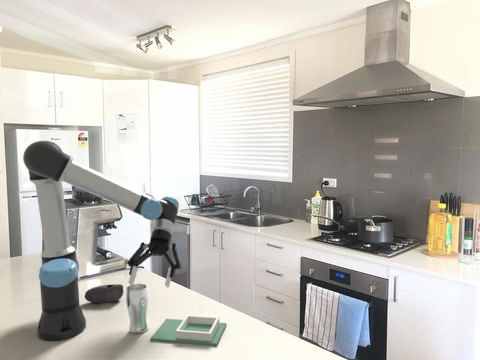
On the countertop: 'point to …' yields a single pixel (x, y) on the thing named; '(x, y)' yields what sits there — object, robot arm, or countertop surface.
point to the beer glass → (137, 307)
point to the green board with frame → (191, 330)
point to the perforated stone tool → (104, 293)
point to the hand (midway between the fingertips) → (148, 285)
